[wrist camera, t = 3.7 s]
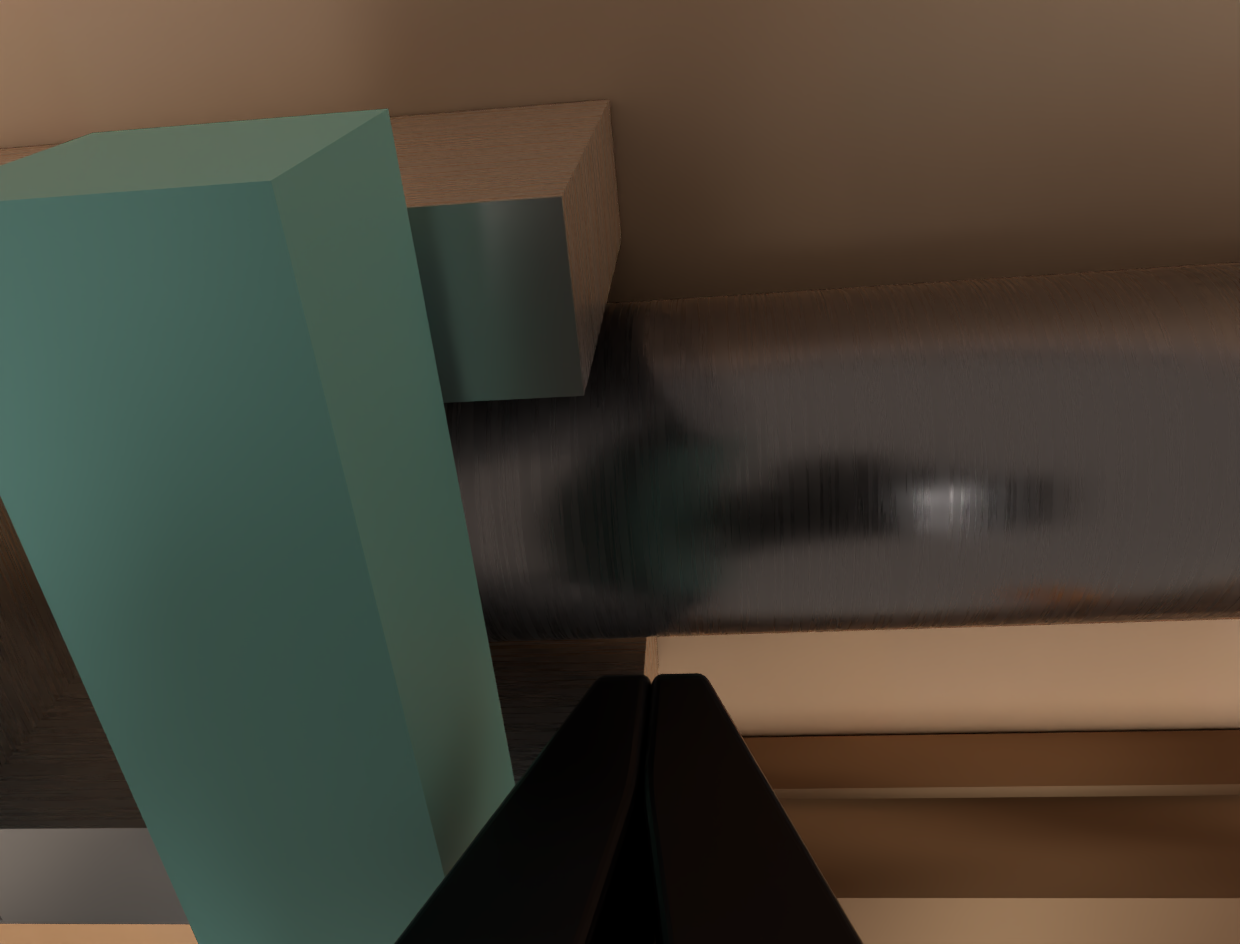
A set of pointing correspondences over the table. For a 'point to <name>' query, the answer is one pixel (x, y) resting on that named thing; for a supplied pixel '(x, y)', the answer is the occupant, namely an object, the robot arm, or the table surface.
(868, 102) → the table surface
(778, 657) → the table surface
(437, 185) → the socket
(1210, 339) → the rod
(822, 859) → the rail
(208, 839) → the teal rectangular block
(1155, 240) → the table surface
